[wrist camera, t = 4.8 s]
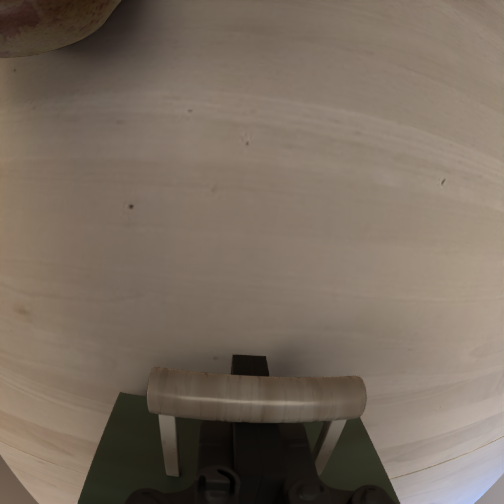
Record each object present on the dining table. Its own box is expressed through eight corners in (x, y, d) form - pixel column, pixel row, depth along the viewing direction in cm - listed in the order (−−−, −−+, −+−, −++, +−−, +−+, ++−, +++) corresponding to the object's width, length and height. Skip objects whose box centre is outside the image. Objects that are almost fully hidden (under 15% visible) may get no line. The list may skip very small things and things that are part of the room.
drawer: (108, 297, 13) (22, 408, 6) (384, 318, 14) (472, 419, 7) (147, 503, 18) (137, 574, 11) (301, 509, 20) (315, 578, 12)
